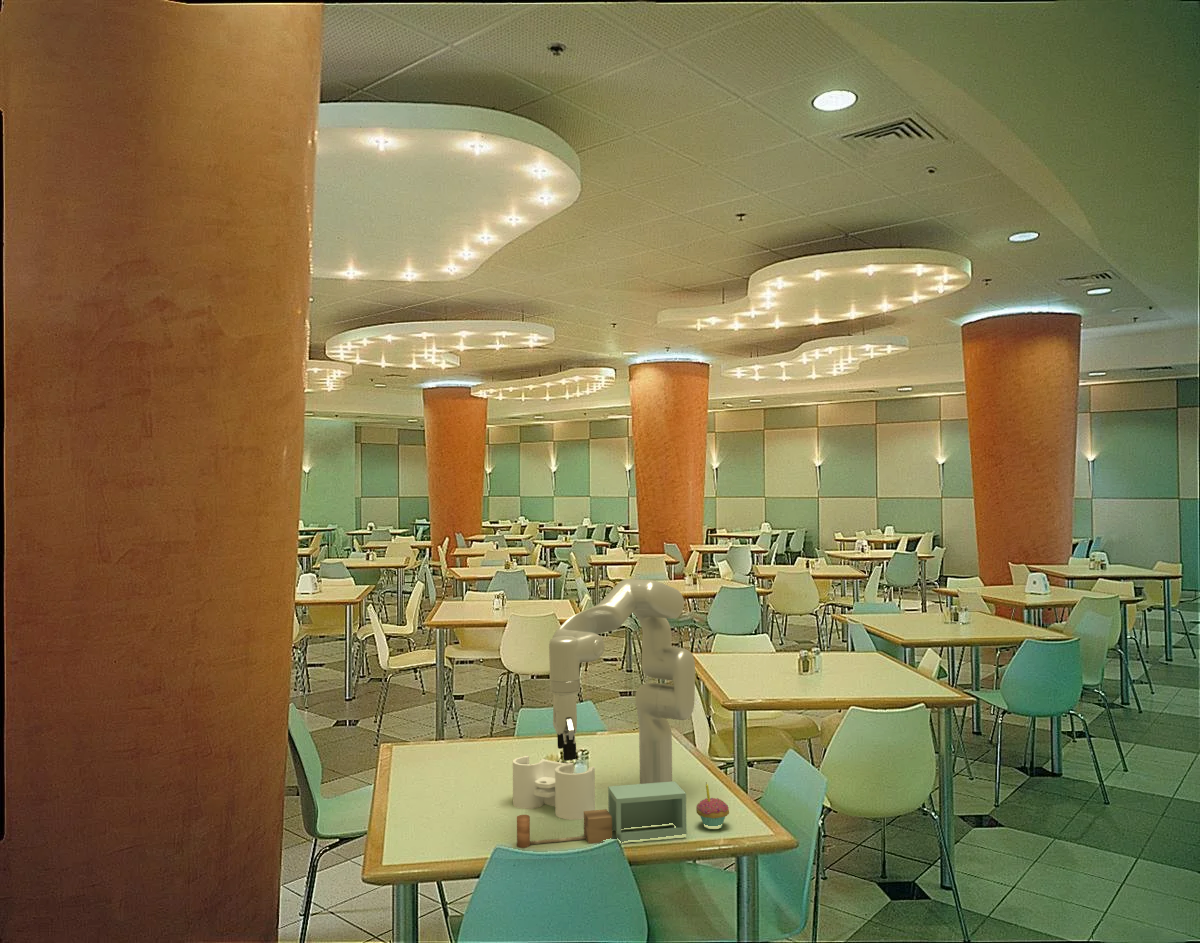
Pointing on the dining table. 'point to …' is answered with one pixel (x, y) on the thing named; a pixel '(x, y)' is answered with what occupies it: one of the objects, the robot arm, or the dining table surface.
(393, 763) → the dining table surface
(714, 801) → the cupcake
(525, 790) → the bracket
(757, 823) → the dining table surface
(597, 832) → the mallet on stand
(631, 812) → the plain rectangular box
